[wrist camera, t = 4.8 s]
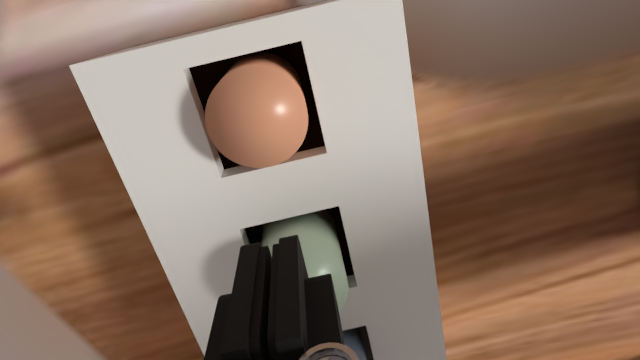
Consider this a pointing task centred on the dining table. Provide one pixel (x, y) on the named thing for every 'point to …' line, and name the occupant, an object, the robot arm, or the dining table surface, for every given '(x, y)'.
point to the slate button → (354, 342)
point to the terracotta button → (258, 111)
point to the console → (283, 165)
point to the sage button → (313, 246)
